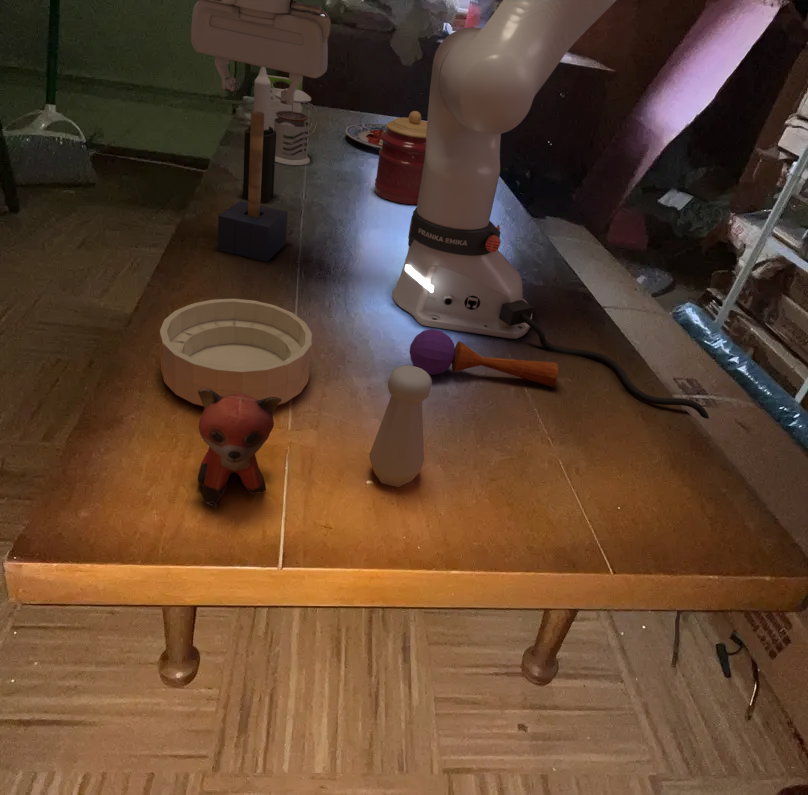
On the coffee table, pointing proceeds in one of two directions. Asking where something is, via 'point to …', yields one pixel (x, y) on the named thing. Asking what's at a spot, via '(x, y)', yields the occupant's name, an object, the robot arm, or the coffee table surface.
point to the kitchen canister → (402, 159)
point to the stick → (255, 163)
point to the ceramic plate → (367, 134)
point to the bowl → (235, 350)
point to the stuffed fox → (233, 440)
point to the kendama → (472, 359)
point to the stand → (252, 231)
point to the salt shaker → (402, 428)
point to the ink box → (276, 103)
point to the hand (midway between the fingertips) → (257, 97)
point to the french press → (292, 132)
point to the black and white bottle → (269, 139)
